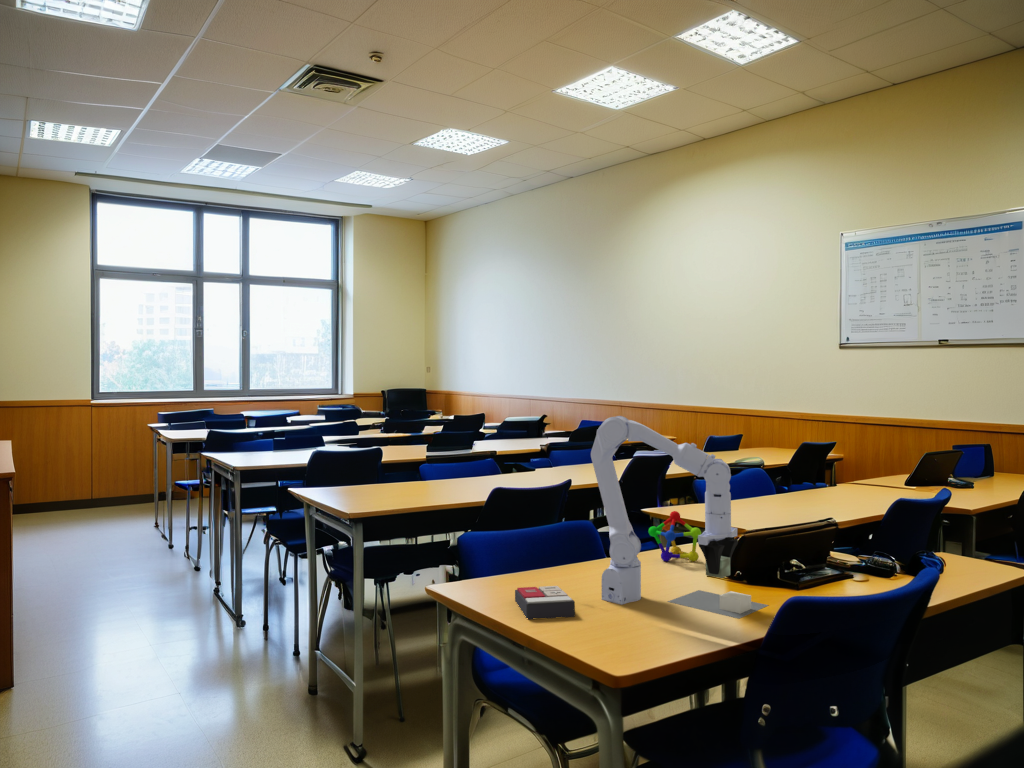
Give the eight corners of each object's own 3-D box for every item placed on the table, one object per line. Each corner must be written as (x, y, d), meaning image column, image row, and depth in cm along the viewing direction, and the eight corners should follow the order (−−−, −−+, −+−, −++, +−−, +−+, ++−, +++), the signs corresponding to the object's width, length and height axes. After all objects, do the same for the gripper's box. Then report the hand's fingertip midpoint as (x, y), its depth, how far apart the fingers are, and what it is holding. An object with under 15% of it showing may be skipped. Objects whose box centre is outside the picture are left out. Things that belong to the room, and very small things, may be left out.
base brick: (740, 613, 157) (740, 599, 157) (719, 608, 160) (719, 595, 160) (751, 608, 160) (751, 595, 160) (730, 604, 164) (730, 591, 164)
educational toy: (642, 563, 213) (639, 512, 215) (671, 557, 221) (667, 508, 222) (683, 567, 201) (679, 514, 202) (712, 561, 209) (708, 509, 210)
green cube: (721, 578, 161) (721, 560, 161) (705, 575, 163) (705, 557, 163) (730, 574, 163) (730, 557, 163) (714, 572, 166) (714, 554, 166)
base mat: (739, 623, 153) (738, 618, 153) (667, 605, 166) (667, 601, 166) (768, 609, 163) (768, 605, 163) (698, 594, 176) (698, 590, 176)
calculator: (559, 584, 173) (575, 598, 158) (559, 602, 172) (575, 617, 158) (514, 586, 171) (526, 600, 156) (514, 604, 170) (526, 620, 156)
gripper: (718, 518, 156) (718, 580, 155) (749, 510, 166) (750, 569, 166) (689, 514, 161) (690, 575, 160) (721, 507, 171) (722, 564, 171)
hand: (718, 571), depth 163 cm, fingers closed on green cube, 4 cm apart
